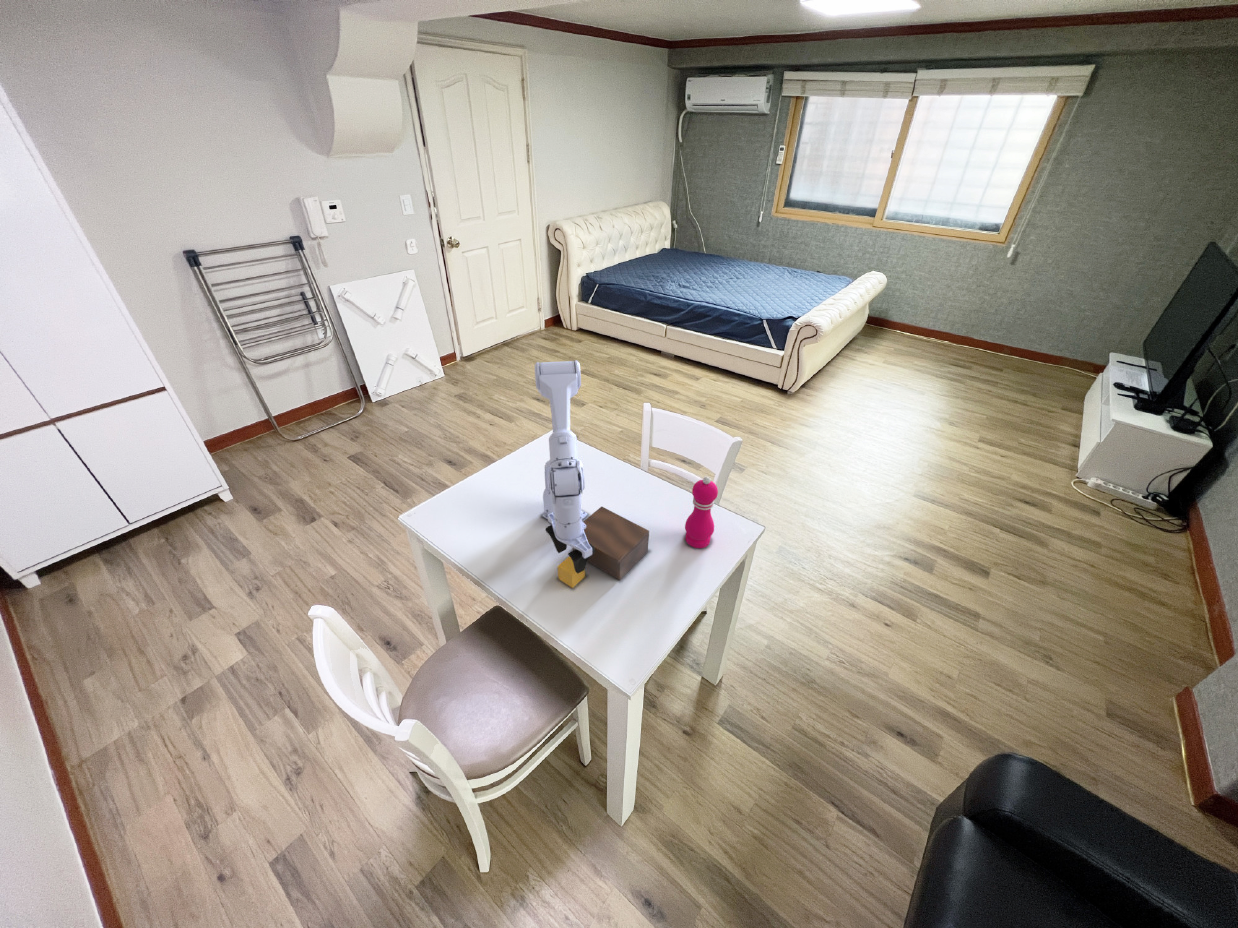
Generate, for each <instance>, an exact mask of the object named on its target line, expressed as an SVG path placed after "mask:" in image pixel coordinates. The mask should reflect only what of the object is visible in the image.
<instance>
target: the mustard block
mask: <svg viewBox="0 0 1238 928" xmlns="http://www.w3.org/2000/svg"><path fill="white" fill-rule="evenodd" d="M557 577H558V580H559V581H561V582H562V583H564V584H565V585H566V586H569V587H570V588H572V589H574V588H575V587H576V586H577V585H578V584H579V583H580V582H581V581H582V580H583V579H585V577H586V569H585V570H584V571H582V572H580V573H578V574H577V573H576V571H575V569H574V564H573V561H572V559H571V557H570V556H569V555H568V556H567V557H566V558H565V559H564V560H563V561H562V562H561V563H560V564H558V565H557Z"/></svg>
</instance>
